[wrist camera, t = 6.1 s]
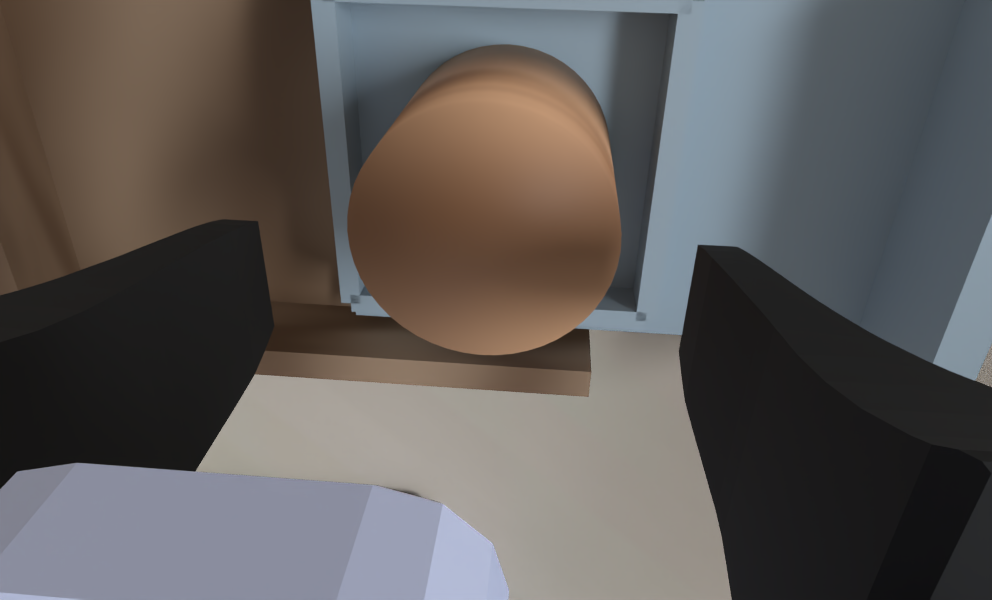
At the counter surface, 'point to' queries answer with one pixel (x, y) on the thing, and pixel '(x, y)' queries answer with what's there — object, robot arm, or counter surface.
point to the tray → (733, 143)
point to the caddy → (206, 173)
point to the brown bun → (490, 205)
